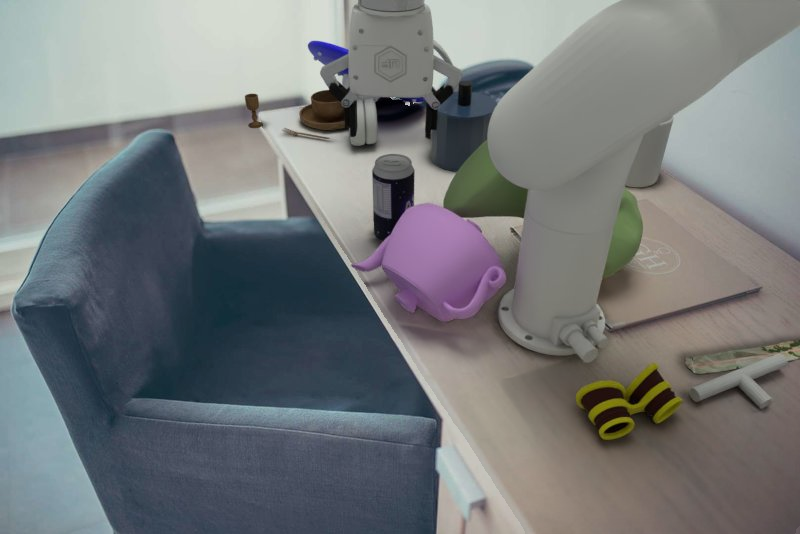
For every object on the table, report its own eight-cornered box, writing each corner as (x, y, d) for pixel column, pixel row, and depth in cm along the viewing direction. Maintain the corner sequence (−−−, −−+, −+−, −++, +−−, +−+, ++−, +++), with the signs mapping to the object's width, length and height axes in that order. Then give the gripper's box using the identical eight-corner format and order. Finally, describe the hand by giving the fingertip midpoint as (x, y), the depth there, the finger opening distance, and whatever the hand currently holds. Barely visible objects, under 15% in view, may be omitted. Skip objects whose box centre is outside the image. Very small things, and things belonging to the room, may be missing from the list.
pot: (501, 165, 110) (506, 113, 105) (446, 176, 107) (449, 123, 102) (473, 141, 118) (477, 91, 112) (421, 150, 115) (423, 99, 109)
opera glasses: (596, 450, 63) (612, 425, 60) (568, 406, 67) (582, 379, 63) (675, 422, 66) (695, 396, 63) (644, 380, 69) (661, 354, 66)
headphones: (351, 154, 113) (346, 43, 102) (348, 134, 120) (343, 28, 109) (462, 148, 115) (469, 38, 104) (453, 128, 122) (459, 24, 111)
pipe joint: (687, 393, 68) (717, 427, 65) (691, 385, 67) (722, 418, 64) (773, 359, 71) (806, 389, 68) (779, 350, 70) (812, 381, 67)
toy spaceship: (288, 36, 127) (275, 70, 128) (349, 43, 107) (334, 83, 108) (383, 89, 142) (371, 119, 143) (452, 103, 123) (438, 138, 124)
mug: (639, 161, 112) (654, 100, 105) (667, 184, 105) (685, 121, 99) (576, 169, 109) (588, 107, 103) (601, 193, 103) (615, 129, 96)
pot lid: (509, 117, 105) (511, 90, 102) (447, 127, 102) (449, 99, 99) (478, 93, 113) (480, 68, 110) (420, 102, 110) (421, 76, 107)
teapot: (502, 222, 67) (429, 306, 65) (538, 292, 76) (475, 368, 74) (385, 171, 81) (322, 239, 78) (428, 235, 90) (373, 297, 88)
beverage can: (409, 250, 90) (410, 173, 83) (369, 245, 91) (367, 169, 84) (416, 228, 94) (418, 154, 87) (379, 224, 95) (377, 150, 88)
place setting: (339, 142, 117) (337, 111, 113) (244, 128, 122) (239, 98, 119) (375, 107, 130) (374, 79, 127) (288, 96, 136) (284, 69, 132)
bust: (450, 144, 87) (584, 239, 94) (429, 222, 77) (581, 321, 84) (521, 75, 77) (664, 187, 84) (507, 154, 67) (671, 274, 74)
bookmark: (681, 359, 73) (682, 356, 72) (844, 334, 76) (846, 330, 76) (694, 377, 70) (696, 374, 70) (862, 349, 74) (864, 346, 73)
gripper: (311, 1, 70) (320, 145, 80) (469, 5, 70) (459, 148, 80) (319, -16, 76) (327, 120, 86) (465, -13, 76) (456, 123, 86)
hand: (390, 133), depth 83 cm, fingers open, 9 cm apart
